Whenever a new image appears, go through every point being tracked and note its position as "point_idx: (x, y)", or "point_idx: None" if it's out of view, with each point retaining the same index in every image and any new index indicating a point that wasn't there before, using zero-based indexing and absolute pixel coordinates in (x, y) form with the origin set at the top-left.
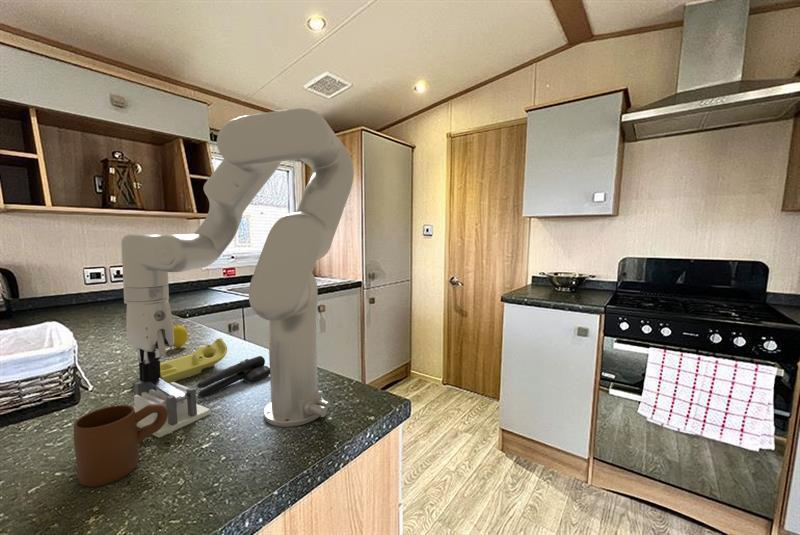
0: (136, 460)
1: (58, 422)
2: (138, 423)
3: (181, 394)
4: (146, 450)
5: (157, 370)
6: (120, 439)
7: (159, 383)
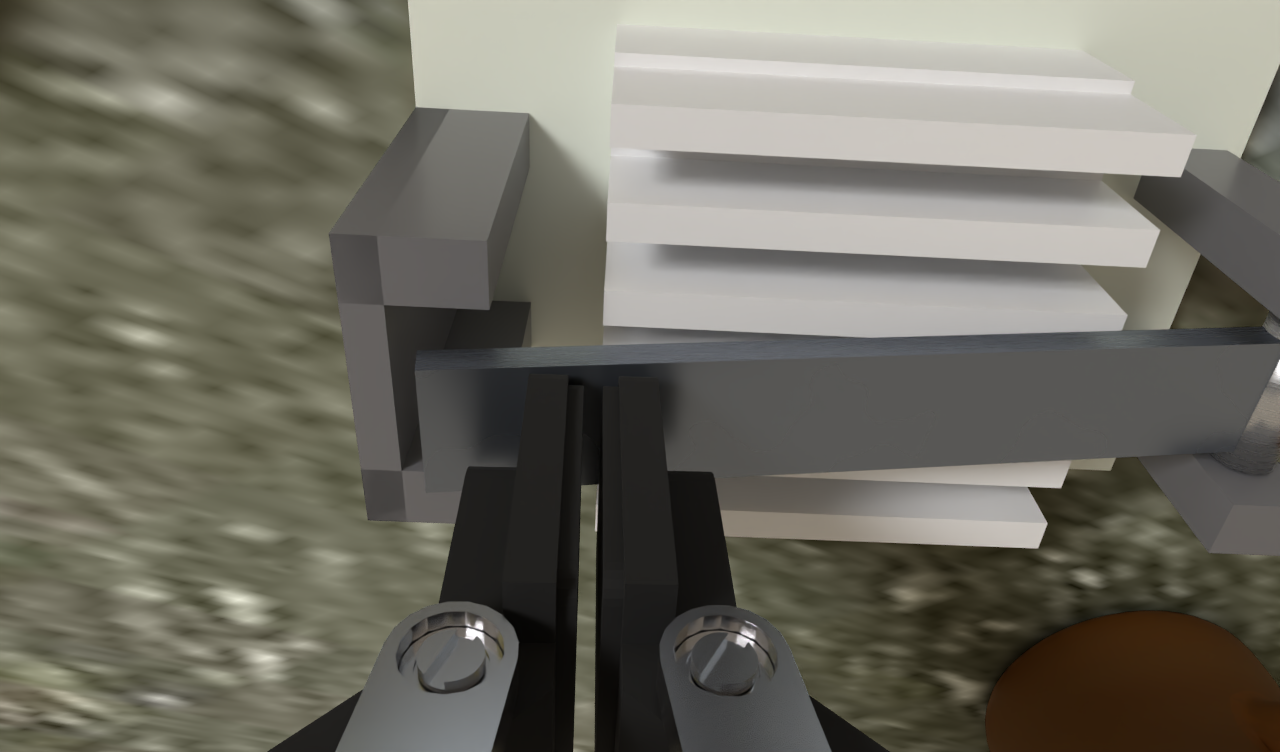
0: (1270, 675)
1: (136, 619)
2: None
3: (1243, 374)
4: (1137, 542)
5: (721, 525)
6: None
7: (785, 428)
